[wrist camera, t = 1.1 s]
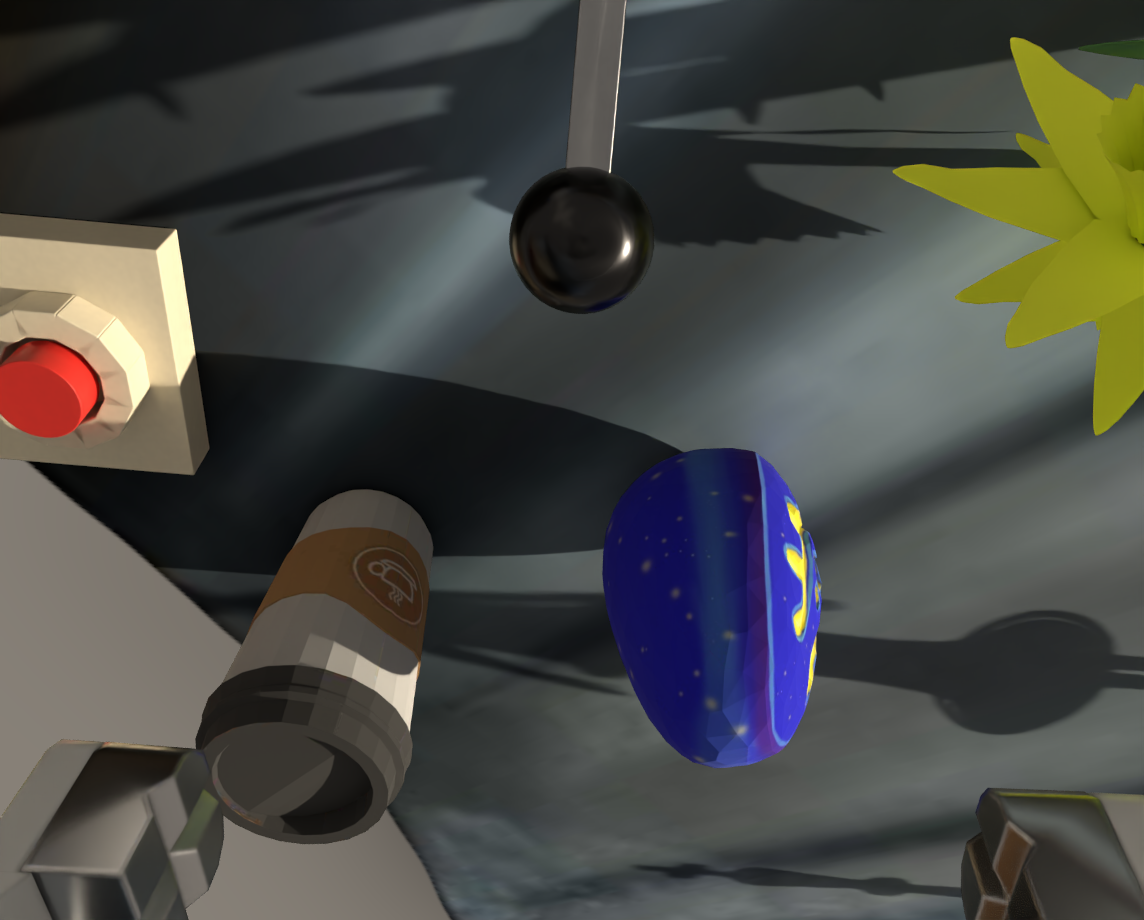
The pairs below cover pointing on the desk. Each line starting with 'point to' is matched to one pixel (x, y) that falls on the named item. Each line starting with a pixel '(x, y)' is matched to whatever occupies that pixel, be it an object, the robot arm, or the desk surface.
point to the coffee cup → (325, 678)
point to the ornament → (714, 603)
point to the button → (46, 389)
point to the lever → (586, 190)
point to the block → (106, 339)
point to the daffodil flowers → (1069, 220)
